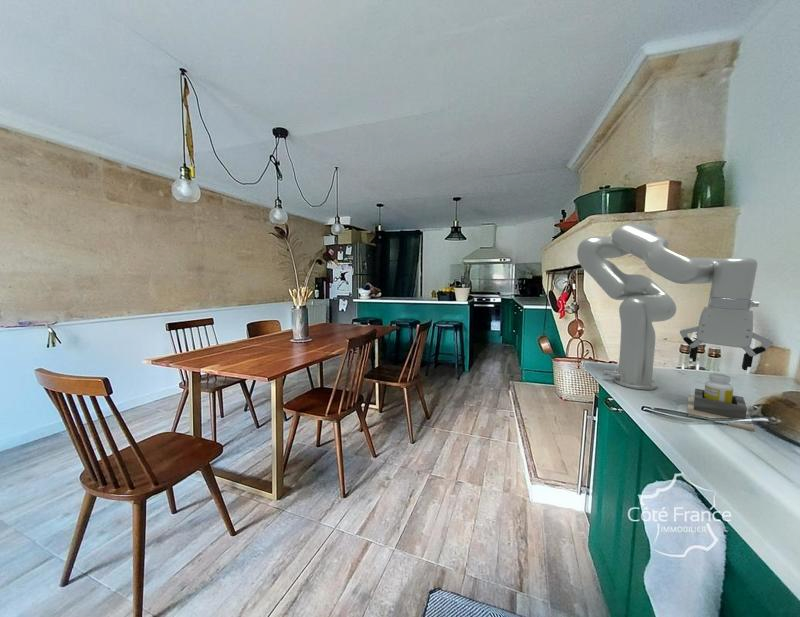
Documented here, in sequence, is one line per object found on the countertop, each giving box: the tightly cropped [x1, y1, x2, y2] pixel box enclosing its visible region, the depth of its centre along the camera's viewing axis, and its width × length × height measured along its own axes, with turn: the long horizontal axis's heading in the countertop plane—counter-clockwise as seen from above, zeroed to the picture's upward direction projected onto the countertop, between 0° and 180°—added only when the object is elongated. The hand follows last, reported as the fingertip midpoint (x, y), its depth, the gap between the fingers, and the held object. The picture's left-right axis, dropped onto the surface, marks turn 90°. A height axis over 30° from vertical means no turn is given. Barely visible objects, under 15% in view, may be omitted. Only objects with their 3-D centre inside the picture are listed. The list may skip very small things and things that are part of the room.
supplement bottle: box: [703, 372, 734, 404], centre depth 83 cm, size 5×5×10 cm
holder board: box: [686, 388, 755, 432], centre depth 83 cm, size 16×12×4 cm
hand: (718, 364), depth 82 cm, fingers open, 9 cm apart
